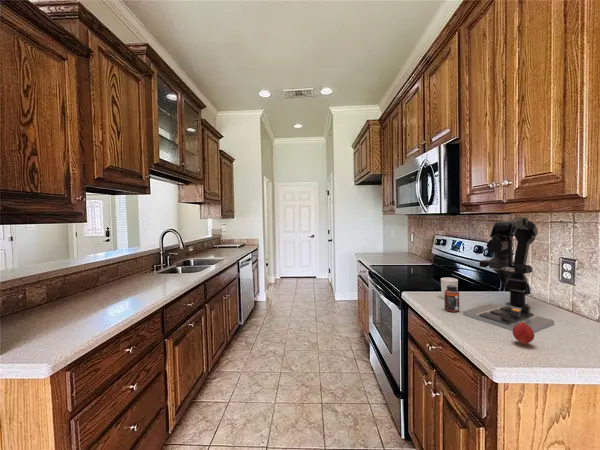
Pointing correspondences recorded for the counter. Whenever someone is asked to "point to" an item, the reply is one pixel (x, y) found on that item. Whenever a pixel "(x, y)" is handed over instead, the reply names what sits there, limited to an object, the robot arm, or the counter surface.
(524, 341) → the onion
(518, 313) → the block
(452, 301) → the supplement bottle
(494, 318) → the breaker panel
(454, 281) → the white cup
